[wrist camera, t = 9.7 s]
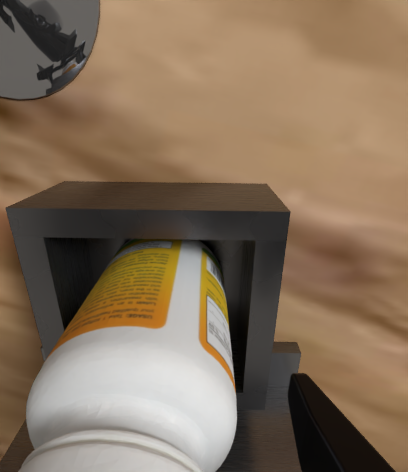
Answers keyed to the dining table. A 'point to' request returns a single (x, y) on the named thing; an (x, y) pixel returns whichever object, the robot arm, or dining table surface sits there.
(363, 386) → the dining table surface
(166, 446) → the supplement bottle
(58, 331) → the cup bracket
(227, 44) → the dining table surface
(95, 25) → the wine glass
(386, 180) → the dining table surface
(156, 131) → the dining table surface
